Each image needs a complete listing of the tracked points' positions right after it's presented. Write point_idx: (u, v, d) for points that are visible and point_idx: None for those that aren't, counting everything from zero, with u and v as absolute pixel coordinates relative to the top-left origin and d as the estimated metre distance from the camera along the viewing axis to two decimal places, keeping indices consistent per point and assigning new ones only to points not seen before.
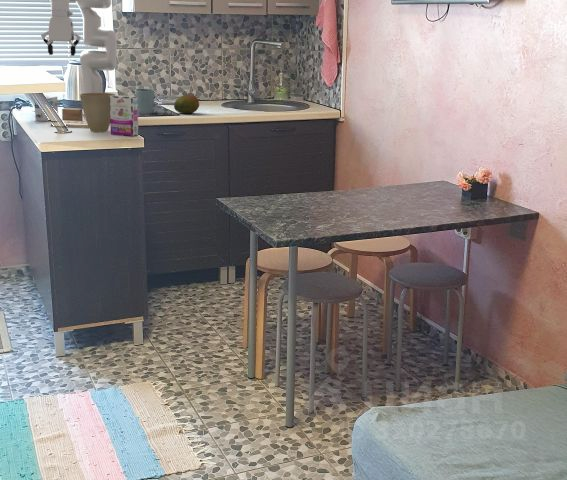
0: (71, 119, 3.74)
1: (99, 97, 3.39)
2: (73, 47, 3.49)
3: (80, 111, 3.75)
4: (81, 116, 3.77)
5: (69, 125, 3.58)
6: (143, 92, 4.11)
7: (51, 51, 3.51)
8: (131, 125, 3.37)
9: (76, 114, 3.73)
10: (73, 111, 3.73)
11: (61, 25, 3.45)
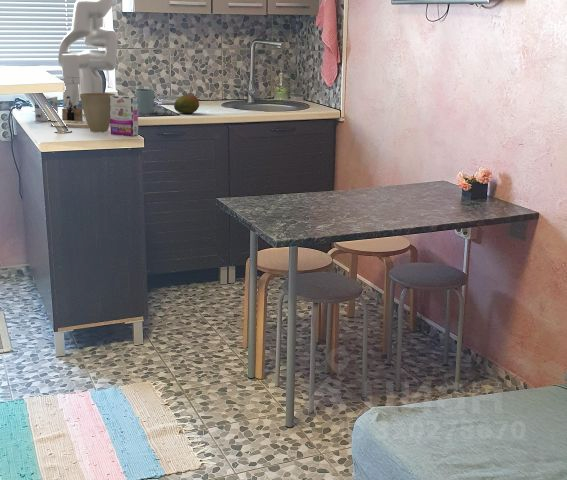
0: None
1: (99, 97, 3.39)
2: None
3: (80, 111, 3.75)
4: (81, 116, 3.77)
5: (69, 125, 3.58)
6: (143, 92, 4.11)
7: None
8: (131, 125, 3.37)
9: (76, 114, 3.73)
10: (73, 111, 3.73)
11: (77, 90, 3.74)
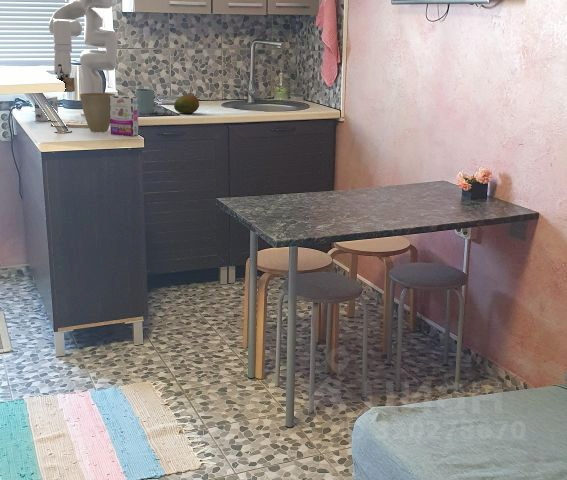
0: None
1: (99, 97, 3.39)
2: None
3: (72, 80, 3.59)
4: (73, 85, 3.61)
5: (69, 125, 3.58)
6: (143, 92, 4.11)
7: None
8: (131, 125, 3.37)
9: (68, 83, 3.58)
10: (65, 80, 3.58)
11: (69, 59, 3.59)
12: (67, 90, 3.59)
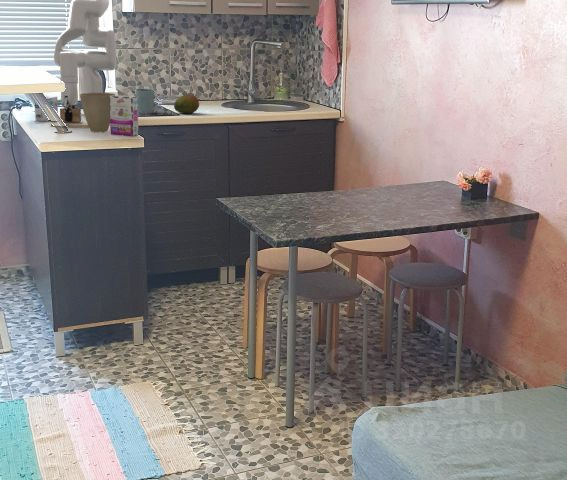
0: None
1: (99, 97, 3.39)
2: None
3: (78, 111, 3.63)
4: (79, 116, 3.65)
5: (69, 125, 3.58)
6: (143, 92, 4.11)
7: None
8: (131, 125, 3.37)
9: (74, 114, 3.61)
10: (71, 111, 3.61)
11: (75, 90, 3.62)
12: (73, 121, 3.62)
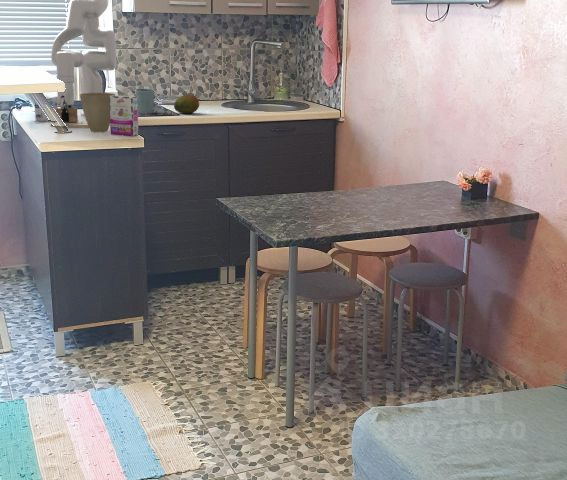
0: None
1: (99, 97, 3.39)
2: None
3: (75, 111, 3.63)
4: (76, 116, 3.65)
5: (69, 125, 3.58)
6: (143, 92, 4.11)
7: None
8: (131, 125, 3.37)
9: (71, 114, 3.61)
10: (68, 111, 3.61)
11: (72, 90, 3.62)
12: (70, 121, 3.62)
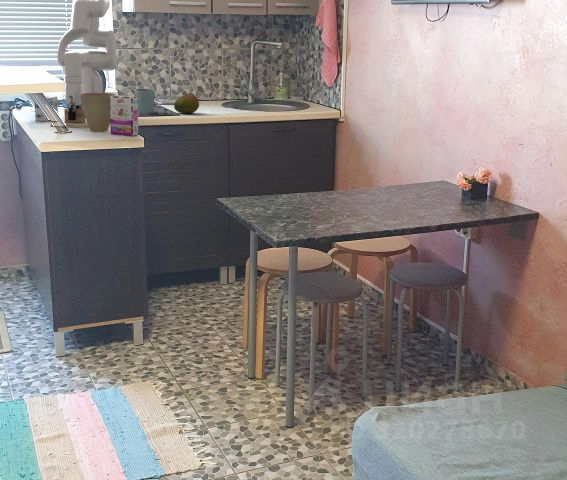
0: None
1: (99, 97, 3.39)
2: None
3: (83, 111, 3.63)
4: (84, 116, 3.65)
5: (69, 125, 3.58)
6: (143, 92, 4.11)
7: None
8: (131, 125, 3.37)
9: (79, 115, 3.61)
10: (76, 111, 3.61)
11: (80, 90, 3.62)
12: (78, 121, 3.62)
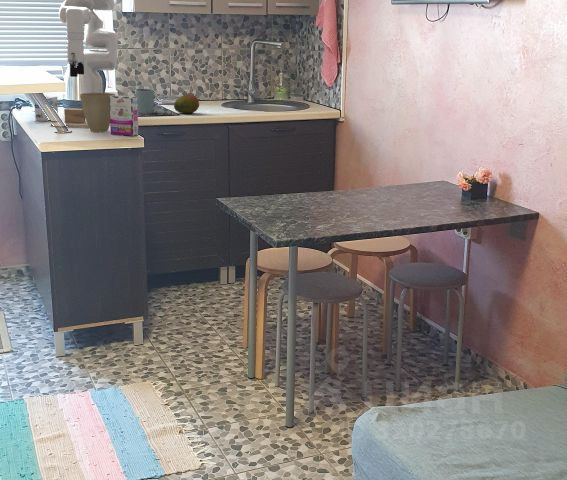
0: (74, 120, 3.62)
1: (99, 97, 3.39)
2: None
3: None
4: (84, 116, 3.65)
5: (69, 125, 3.58)
6: (143, 92, 4.11)
7: None
8: (131, 125, 3.37)
9: (79, 115, 3.61)
10: (76, 111, 3.61)
11: (82, 47, 3.62)
12: (78, 121, 3.62)
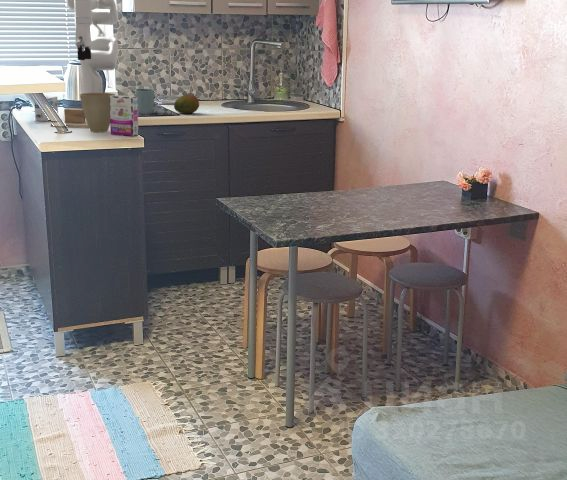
0: (74, 120, 3.62)
1: (99, 97, 3.39)
2: None
3: None
4: (84, 116, 3.65)
5: (69, 125, 3.58)
6: (143, 92, 4.11)
7: None
8: (131, 125, 3.37)
9: (79, 115, 3.61)
10: (76, 111, 3.61)
11: (89, 31, 3.72)
12: (78, 121, 3.62)
